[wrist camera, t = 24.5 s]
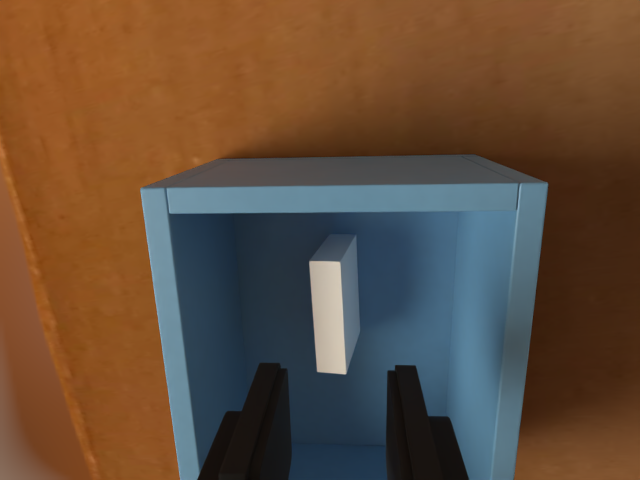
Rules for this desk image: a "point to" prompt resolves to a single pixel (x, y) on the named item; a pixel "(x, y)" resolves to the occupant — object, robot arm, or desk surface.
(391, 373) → the robot arm
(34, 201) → the desk surface
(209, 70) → the desk surface
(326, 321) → the eraser
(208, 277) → the blue open box
